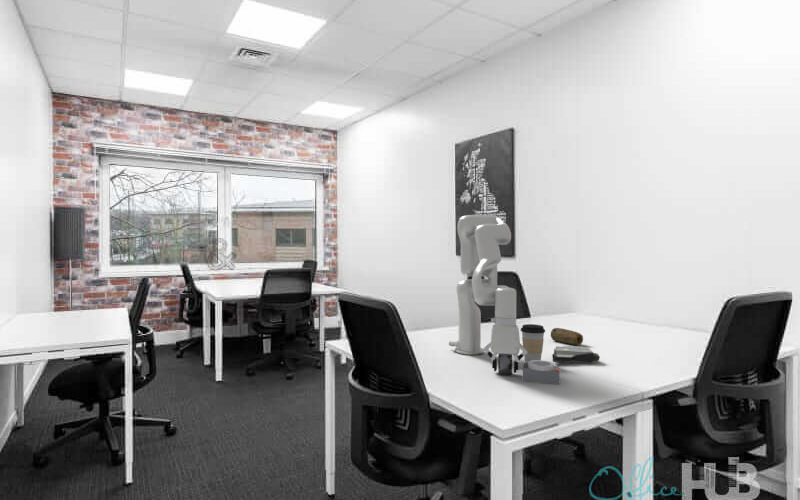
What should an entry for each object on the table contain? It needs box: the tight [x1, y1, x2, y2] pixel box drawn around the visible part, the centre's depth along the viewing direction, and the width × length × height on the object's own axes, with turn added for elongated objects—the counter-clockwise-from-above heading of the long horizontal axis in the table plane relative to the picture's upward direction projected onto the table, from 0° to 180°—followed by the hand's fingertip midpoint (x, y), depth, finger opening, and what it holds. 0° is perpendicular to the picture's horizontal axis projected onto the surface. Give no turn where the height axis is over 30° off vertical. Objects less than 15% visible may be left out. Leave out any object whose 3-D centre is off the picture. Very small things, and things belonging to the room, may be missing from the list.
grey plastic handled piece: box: [551, 345, 601, 364], centre depth 194 cm, size 16×20×5 cm
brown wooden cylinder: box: [550, 327, 584, 346], centre depth 226 cm, size 15×7×7 cm, turn 38°
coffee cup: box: [519, 323, 546, 363], centre depth 186 cm, size 9×9×15 cm
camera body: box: [522, 359, 560, 385], centre depth 165 cm, size 12×9×6 cm
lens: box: [497, 354, 513, 377], centre depth 172 cm, size 5×5×7 cm
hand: (505, 370), depth 172 cm, fingers open, 6 cm apart
